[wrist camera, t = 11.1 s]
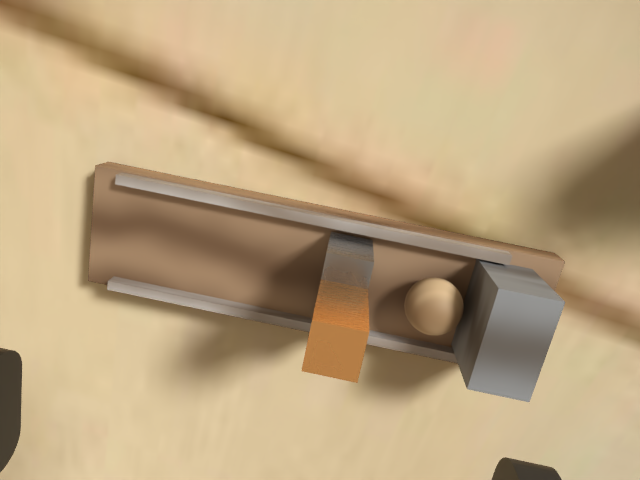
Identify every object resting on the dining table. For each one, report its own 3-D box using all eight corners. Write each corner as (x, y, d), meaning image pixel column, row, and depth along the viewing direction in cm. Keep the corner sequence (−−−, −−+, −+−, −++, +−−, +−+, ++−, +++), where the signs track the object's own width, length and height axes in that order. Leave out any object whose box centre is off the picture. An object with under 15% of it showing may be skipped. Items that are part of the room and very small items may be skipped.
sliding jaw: (331, 231, 36) (318, 287, 25) (372, 240, 36) (377, 300, 25) (313, 315, 38) (295, 399, 27) (353, 323, 38) (350, 411, 27)
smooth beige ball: (409, 264, 37) (415, 284, 33) (464, 275, 36) (476, 296, 33) (396, 314, 38) (400, 339, 34) (449, 325, 38) (459, 351, 34)
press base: (108, 161, 38) (45, 178, 31) (554, 253, 38) (604, 293, 30) (101, 271, 41) (40, 312, 33) (518, 359, 40) (555, 422, 32)
